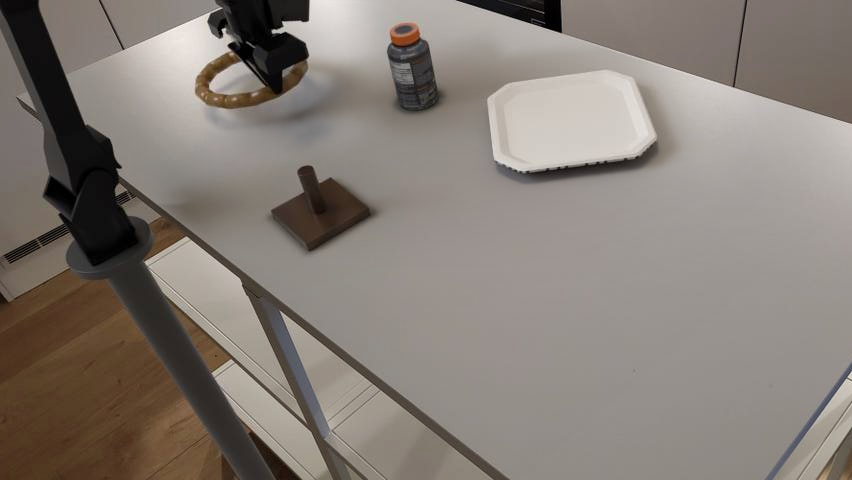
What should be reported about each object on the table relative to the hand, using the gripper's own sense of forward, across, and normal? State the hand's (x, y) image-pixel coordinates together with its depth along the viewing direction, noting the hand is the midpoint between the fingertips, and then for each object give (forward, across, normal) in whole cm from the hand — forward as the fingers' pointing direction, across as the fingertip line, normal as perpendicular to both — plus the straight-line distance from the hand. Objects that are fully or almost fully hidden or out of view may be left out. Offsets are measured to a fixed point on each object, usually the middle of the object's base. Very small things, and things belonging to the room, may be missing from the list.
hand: (275, 90), depth 109 cm
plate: (+4, -34, -25) cm, 43 cm away
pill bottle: (+4, -12, -16) cm, 21 cm away
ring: (0, +8, 0) cm, 8 cm away
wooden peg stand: (+4, -24, +8) cm, 26 cm away
